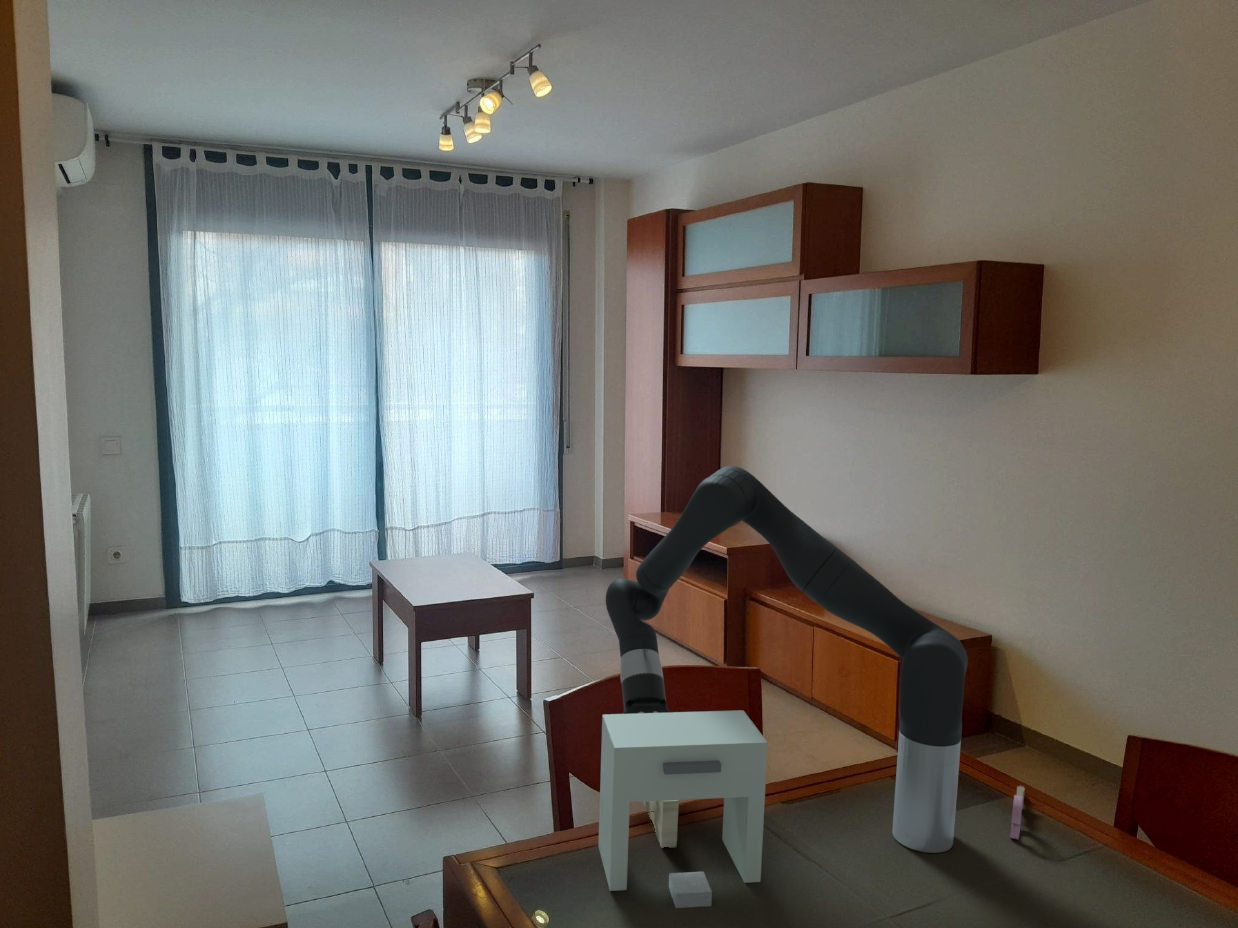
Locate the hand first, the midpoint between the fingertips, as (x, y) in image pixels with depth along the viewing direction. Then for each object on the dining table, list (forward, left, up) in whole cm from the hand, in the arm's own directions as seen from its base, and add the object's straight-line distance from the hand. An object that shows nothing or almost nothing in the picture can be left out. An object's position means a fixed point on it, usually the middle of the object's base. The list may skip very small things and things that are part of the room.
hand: (653, 776), depth 154 cm
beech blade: (+2, +1, -5) cm, 6 cm away
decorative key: (-32, +53, -6) cm, 62 cm away
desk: (+14, +12, -5) cm, 19 cm away
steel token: (+20, +17, -6) cm, 27 cm away
